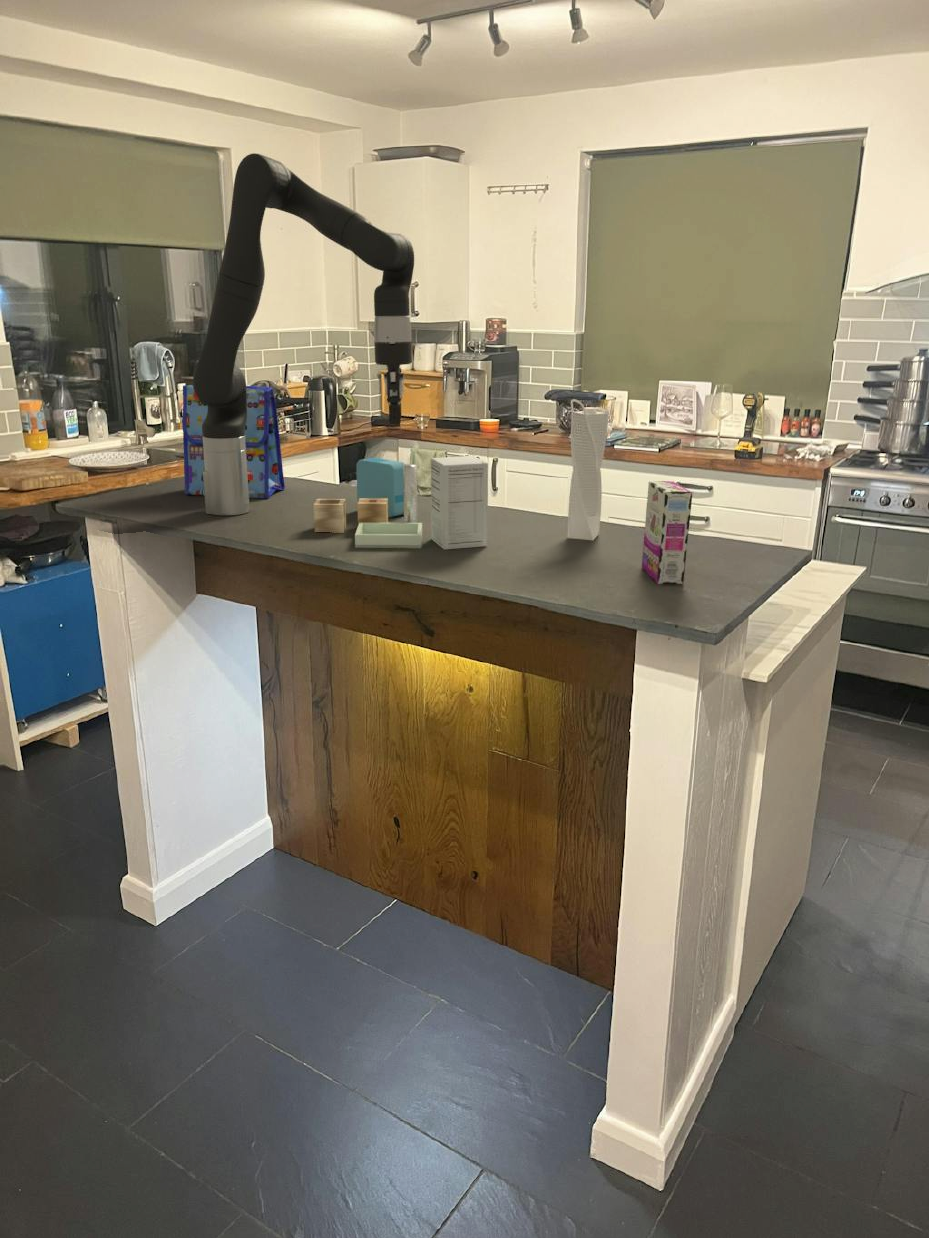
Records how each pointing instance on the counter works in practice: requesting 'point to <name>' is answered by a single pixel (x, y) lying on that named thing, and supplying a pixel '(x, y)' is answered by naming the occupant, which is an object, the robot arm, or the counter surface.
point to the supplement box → (459, 502)
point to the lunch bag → (258, 441)
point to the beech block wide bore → (330, 515)
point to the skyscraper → (586, 471)
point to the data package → (382, 482)
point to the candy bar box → (666, 532)
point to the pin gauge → (410, 493)
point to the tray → (388, 535)
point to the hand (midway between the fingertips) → (395, 421)
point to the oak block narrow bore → (373, 510)
